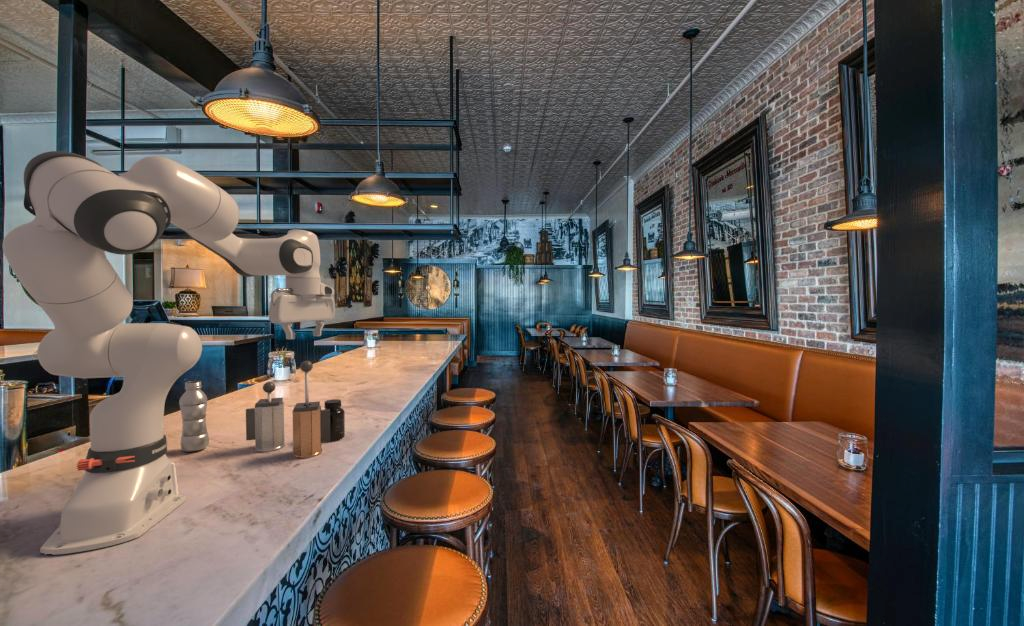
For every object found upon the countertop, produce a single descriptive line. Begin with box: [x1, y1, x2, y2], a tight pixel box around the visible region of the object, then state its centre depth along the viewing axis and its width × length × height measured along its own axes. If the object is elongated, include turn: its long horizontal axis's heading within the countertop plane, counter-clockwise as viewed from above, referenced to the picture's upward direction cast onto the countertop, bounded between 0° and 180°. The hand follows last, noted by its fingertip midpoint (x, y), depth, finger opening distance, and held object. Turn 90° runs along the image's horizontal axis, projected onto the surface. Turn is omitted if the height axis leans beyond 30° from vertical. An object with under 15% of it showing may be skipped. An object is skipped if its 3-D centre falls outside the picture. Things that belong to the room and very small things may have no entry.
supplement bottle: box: [323, 398, 346, 443], centre depth 127 cm, size 7×7×12 cm
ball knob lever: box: [299, 360, 314, 406], centre depth 114 cm, size 3×3×15 cm
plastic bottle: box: [178, 380, 210, 453], centre depth 117 cm, size 6×7×20 cm
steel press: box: [245, 397, 286, 453], centre depth 119 cm, size 10×7×14 cm
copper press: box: [292, 401, 330, 460], centre depth 115 cm, size 10×7×14 cm
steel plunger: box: [262, 381, 276, 401], centre depth 119 cm, size 3×3×15 cm
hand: (304, 337), depth 114 cm, fingers open, 8 cm apart
